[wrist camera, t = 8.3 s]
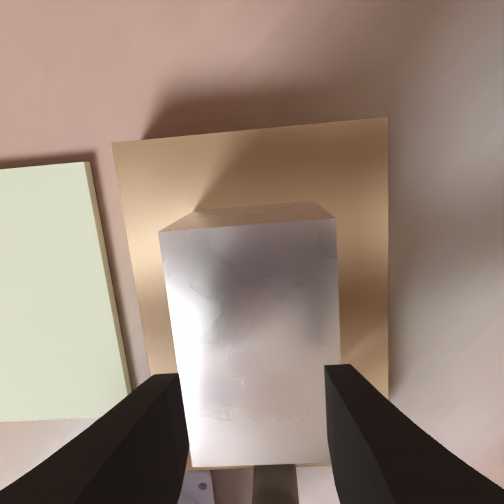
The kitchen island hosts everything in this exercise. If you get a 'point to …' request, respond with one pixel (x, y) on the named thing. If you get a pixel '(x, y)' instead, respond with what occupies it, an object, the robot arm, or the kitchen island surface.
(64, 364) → the felt mat
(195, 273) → the white boxy block
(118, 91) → the kitchen island surface
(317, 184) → the base
